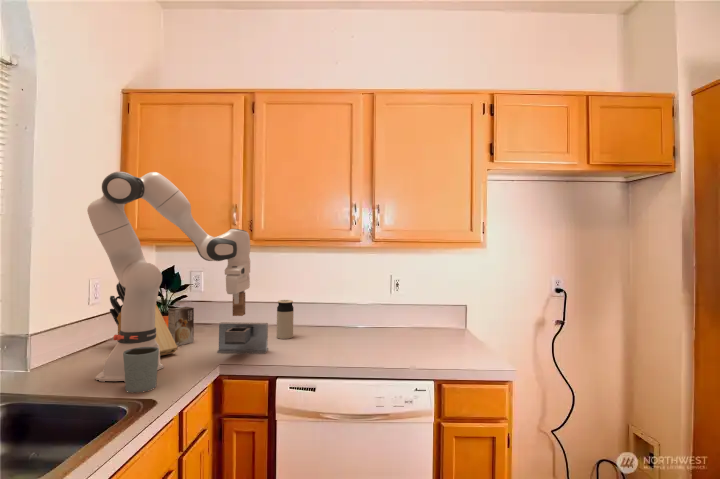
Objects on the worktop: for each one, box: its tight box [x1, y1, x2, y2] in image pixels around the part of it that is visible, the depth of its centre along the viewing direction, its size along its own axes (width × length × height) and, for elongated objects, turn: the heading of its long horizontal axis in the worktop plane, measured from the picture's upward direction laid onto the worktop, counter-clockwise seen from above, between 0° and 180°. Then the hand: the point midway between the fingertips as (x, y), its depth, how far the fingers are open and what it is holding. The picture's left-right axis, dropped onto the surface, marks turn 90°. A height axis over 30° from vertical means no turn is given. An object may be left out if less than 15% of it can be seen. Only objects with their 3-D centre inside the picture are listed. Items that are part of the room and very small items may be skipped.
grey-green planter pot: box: [123, 347, 159, 393], centre depth 128 cm, size 10×10×12 cm
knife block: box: [109, 281, 178, 357], centre depth 170 cm, size 11×35×31 cm, turn 58°
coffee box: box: [167, 306, 195, 347], centre depth 184 cm, size 9×6×16 cm
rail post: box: [232, 291, 246, 317], centre depth 164 cm, size 4×4×9 cm
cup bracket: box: [216, 321, 269, 355], centre depth 168 cm, size 15×20×12 cm
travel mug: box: [276, 299, 294, 340], centre depth 198 cm, size 8×8×18 cm
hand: (238, 302), depth 164 cm, fingers closed on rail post, 4 cm apart
